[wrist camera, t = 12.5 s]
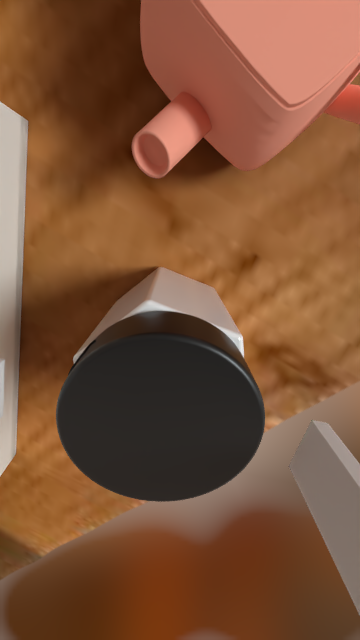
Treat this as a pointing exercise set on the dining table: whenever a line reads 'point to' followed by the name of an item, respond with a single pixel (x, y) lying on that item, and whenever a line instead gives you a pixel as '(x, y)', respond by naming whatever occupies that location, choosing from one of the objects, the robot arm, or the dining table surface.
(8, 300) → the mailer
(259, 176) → the dining table surface
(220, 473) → the jar
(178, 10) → the teapot
